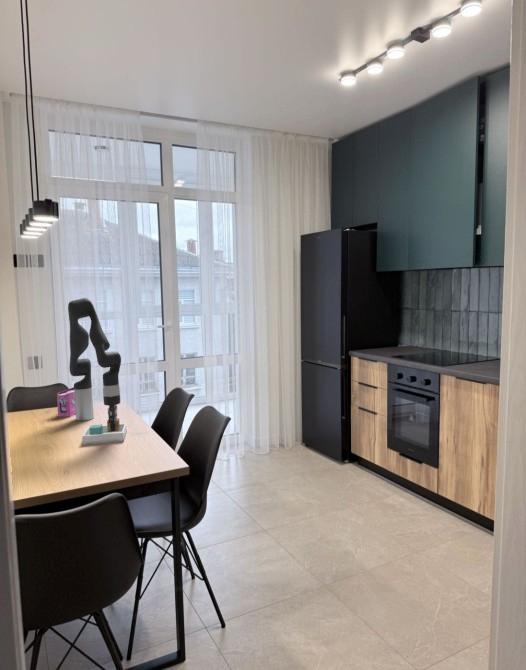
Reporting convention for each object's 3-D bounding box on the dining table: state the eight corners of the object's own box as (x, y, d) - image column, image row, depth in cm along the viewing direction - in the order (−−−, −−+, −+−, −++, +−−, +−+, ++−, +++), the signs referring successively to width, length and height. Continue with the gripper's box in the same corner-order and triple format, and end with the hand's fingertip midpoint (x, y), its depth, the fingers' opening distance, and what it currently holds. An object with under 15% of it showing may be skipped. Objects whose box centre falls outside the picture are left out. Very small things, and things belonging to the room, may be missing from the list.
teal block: (91, 435, 224) (91, 425, 224) (102, 434, 225) (102, 424, 224) (90, 438, 219) (89, 428, 219) (101, 437, 220) (100, 427, 220)
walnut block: (108, 429, 225) (108, 419, 225) (119, 428, 226) (119, 418, 226) (107, 432, 220) (107, 421, 220) (118, 431, 221) (118, 420, 221)
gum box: (69, 417, 264) (67, 393, 262) (56, 417, 265) (54, 393, 264) (91, 407, 287) (89, 385, 286) (79, 407, 288) (77, 385, 287)
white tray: (88, 434, 229) (87, 426, 229) (126, 431, 232) (126, 423, 232) (82, 445, 213) (82, 436, 213) (123, 441, 217) (123, 432, 216)
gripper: (105, 391, 228) (107, 426, 229) (101, 397, 214) (103, 434, 215) (121, 390, 229) (123, 424, 231) (118, 396, 215) (120, 433, 217)
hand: (113, 429), depth 223 cm, fingers closed on walnut block, 5 cm apart
